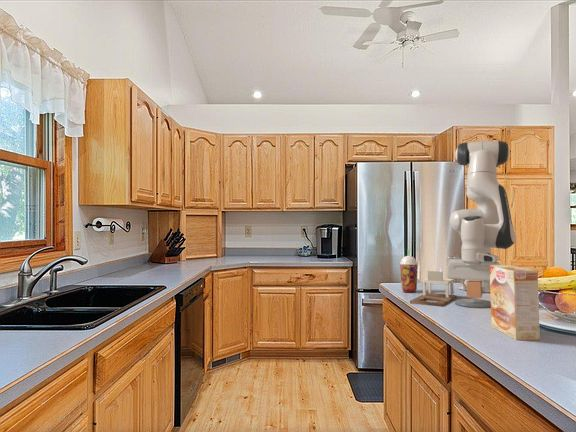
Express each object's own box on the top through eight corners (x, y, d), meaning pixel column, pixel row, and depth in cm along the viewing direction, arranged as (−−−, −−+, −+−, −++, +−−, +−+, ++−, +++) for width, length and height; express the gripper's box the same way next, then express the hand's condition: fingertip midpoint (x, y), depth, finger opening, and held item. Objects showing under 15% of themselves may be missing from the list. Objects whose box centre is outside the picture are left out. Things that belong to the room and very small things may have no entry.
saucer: (459, 300, 174) (459, 297, 174) (496, 303, 165) (496, 300, 165) (451, 305, 162) (450, 303, 162) (489, 309, 154) (489, 306, 154)
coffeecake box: (490, 326, 130) (488, 265, 130) (513, 326, 129) (511, 264, 130) (515, 340, 115) (513, 270, 115) (541, 340, 114) (539, 270, 115)
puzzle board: (426, 295, 187) (426, 292, 187) (456, 297, 179) (456, 295, 179) (409, 303, 169) (409, 300, 169) (442, 306, 161) (442, 303, 161)
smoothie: (403, 290, 201) (402, 249, 202) (420, 291, 197) (419, 249, 197) (397, 292, 195) (396, 250, 195) (415, 294, 190) (414, 250, 190)
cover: (428, 292, 186) (428, 268, 186) (454, 294, 180) (453, 269, 180) (422, 295, 179) (421, 270, 179) (448, 297, 172) (447, 272, 173)
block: (468, 295, 167) (468, 280, 167) (482, 296, 164) (481, 281, 164) (466, 297, 163) (466, 282, 163) (480, 298, 160) (480, 282, 160)
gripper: (444, 256, 167) (445, 290, 167) (500, 257, 156) (501, 294, 155) (448, 255, 173) (449, 288, 172) (502, 256, 161) (503, 292, 160)
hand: (474, 291), depth 164 cm, fingers closed on block, 5 cm apart
